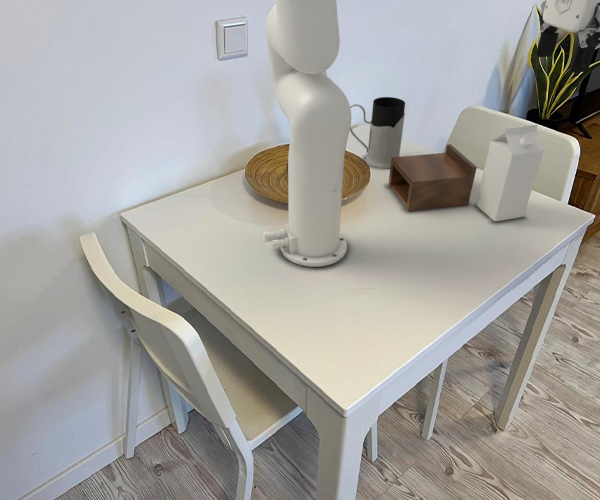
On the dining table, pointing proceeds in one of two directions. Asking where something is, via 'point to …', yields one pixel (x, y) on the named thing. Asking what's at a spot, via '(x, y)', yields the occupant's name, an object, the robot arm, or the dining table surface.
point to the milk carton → (510, 173)
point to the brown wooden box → (432, 179)
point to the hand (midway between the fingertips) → (560, 63)
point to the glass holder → (384, 131)
